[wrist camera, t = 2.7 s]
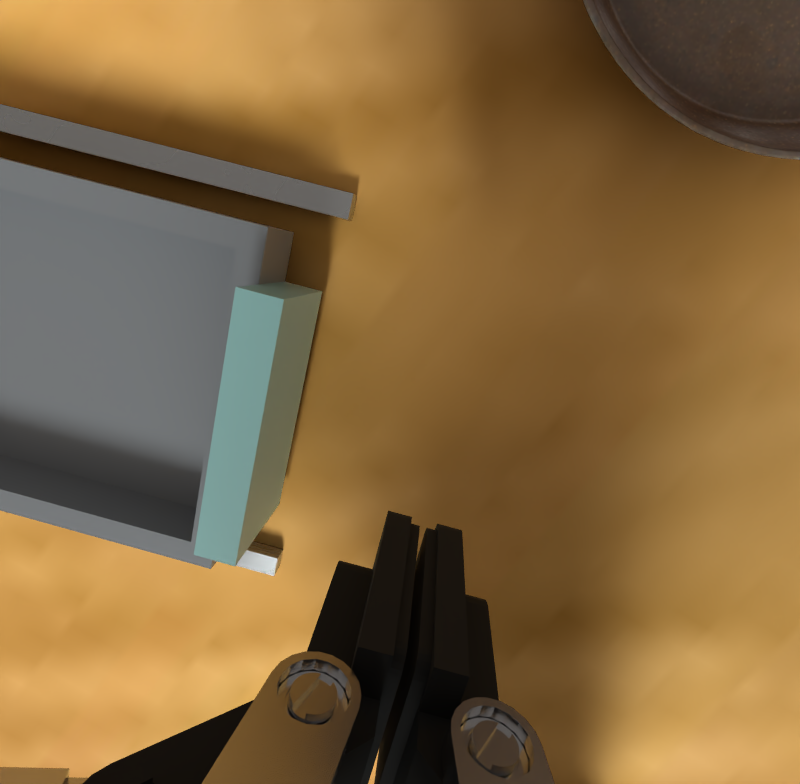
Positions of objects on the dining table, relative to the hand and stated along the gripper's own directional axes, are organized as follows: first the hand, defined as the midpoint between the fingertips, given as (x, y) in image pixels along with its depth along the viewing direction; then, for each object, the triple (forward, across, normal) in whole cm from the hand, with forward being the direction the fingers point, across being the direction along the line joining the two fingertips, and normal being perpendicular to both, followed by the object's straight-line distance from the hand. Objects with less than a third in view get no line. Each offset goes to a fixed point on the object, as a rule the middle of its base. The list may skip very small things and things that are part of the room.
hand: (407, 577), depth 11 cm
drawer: (+12, +16, +1) cm, 20 cm away
